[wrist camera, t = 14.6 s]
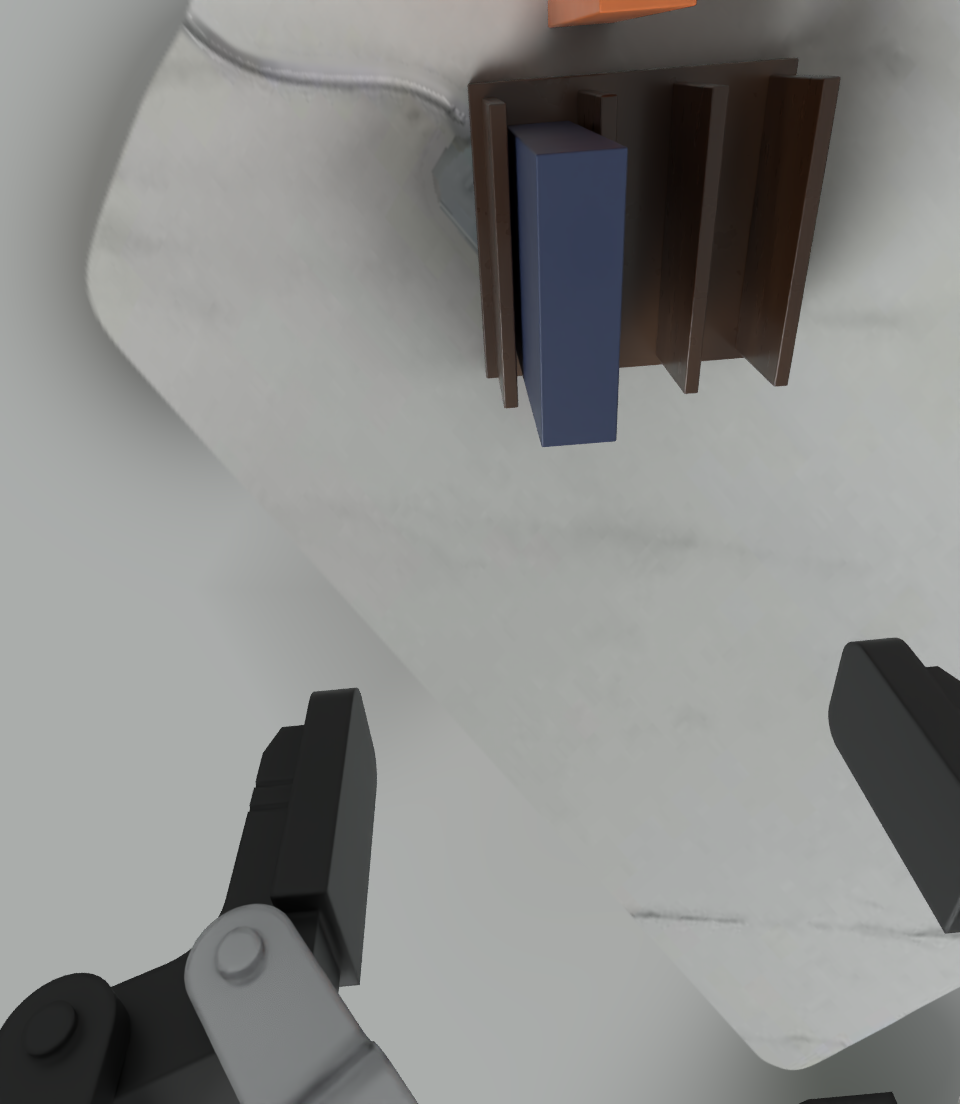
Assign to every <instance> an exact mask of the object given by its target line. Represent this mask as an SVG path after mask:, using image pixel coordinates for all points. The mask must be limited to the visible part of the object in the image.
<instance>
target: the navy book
mask: <svg viewBox="0 0 960 1104" xmlns="http://www.w3.org/2000/svg"><path fill="white" fill-rule="evenodd" d="M507 132H508V157H509V183H510V208H511V234H512V259H513V285H514V310H515V336H516V352H517V356H518V360H519V364H520V367H521V371H522V375H523V378H524V382H525V386H526V390H527V393H528V397H529V401H530V404H531V408H532V412H533V416H534V419H535V423H536V427H537V431H538V434H539V438H540V442H541V445H542V447H550V446H562V445H575V444H587V443H599V442H612V441H616V434H617V409H618V385H619V360H620V335H621V310H622V285H623V261H624V236H625V211H626V186H627V162H628V148H627V147H625V146H623V145H621V144H618V143H616V142H614V141H612V140H610V139H608V138H605V137H603V136H601V135H599V134H597V133H595V132H592V131H590V130H588V129H586V128H584V127H582V126H579V125H577V124H575V123H573V122H571V121H558V122H545V123H532V124H520V125H507Z"/></svg>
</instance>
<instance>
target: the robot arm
mask: <svg viewBox="0 0 960 1104" xmlns="http://www.w3.org/2000/svg"><path fill="white" fill-rule="evenodd" d="M828 719H829V726H830V731H831V734H832V737H833V740H834V742H835V745H836V747H837V748H838V750H839V752H840V754H841V755H842V757H843V759H844V760H845V762H846V764H847V766H848V767H849V769H850V771H851V772H852V774H853V776H854V778H855V779H856V781H857V783H858V785H859V786H860V788H861V790H862V791H863V793H864V795H865V797H866V798H867V800H868V802H869V803H870V805H871V807H872V809H873V810H874V812H875V814H876V816H877V817H878V819H879V821H880V822H881V824H882V826H883V828H884V829H885V831H886V833H887V834H888V836H889V838H890V840H891V841H892V843H893V845H894V847H895V848H896V850H897V852H898V853H899V855H900V857H901V859H902V860H903V862H904V864H905V865H906V867H907V869H908V871H909V872H910V874H911V876H912V877H913V879H914V881H915V883H916V884H917V886H918V888H919V890H920V891H921V893H922V895H923V896H924V898H925V900H926V902H927V903H928V905H929V907H930V908H931V910H932V912H933V914H934V915H935V917H936V919H937V921H938V922H939V924H940V926H941V927H942V929H943V931H944V933H956V932H960V681H959V680H958V679H956V678H955V677H953V676H952V675H950V674H949V673H947V672H946V671H944V670H943V669H941V668H940V667H938V666H935V667H925V666H924V665H923V663H922V662H921V661H920V660H919V658H918V657H917V656H916V655H915V653H914V652H913V651H912V650H911V649H910V647H909V646H908V645H907V644H906V643H905V642H904V641H903V640H901V639H899V638H886V639H876V640H865V641H855V642H849V643H847V644H846V646H845V647H844V649H843V652H842V656H841V660H840V664H839V668H838V672H837V676H836V680H835V685H834V689H833V693H832V697H831V701H830V705H829V711H828ZM376 787H377V771H376V758H375V752H374V747H373V742H372V739H371V735H370V730H369V726H368V722H367V718H366V714H365V709H364V706H363V701H362V697H361V693H360V691H359V689H358V688H349V689H338V690H328V691H317V692H313V693H312V694H311V696H310V700H309V705H308V709H307V714H306V720H305V724H304V725H299V726H289V727H282V728H281V729H280V730H279V732H278V733H277V735H276V736H275V737H274V739H273V740H272V741H271V743H270V744H269V746H268V747H267V748H266V750H265V751H264V752H263V755H262V759H261V763H260V767H259V770H258V774H257V779H256V788H254V791H253V794H252V798H251V802H250V812H248V814H247V818H246V822H245V826H244V829H243V834H242V838H241V841H240V845H239V849H238V853H237V857H236V861H235V865H234V869H233V873H232V877H231V881H230V885H229V889H228V892H227V896H226V900H225V903H224V906H223V909H222V911H221V913H220V915H219V917H218V918H217V919H216V920H215V921H213V922H212V923H211V924H210V925H209V926H208V927H207V928H206V929H205V930H204V931H203V932H202V933H201V935H200V936H199V937H198V939H197V940H196V942H195V944H194V945H193V947H192V948H191V949H190V950H189V951H188V952H186V953H185V954H183V955H182V956H180V957H179V958H177V959H175V960H173V961H171V962H169V963H167V964H165V965H163V966H160V967H158V968H155V969H153V970H151V971H148V972H146V973H144V974H141V975H139V976H136V977H134V978H131V979H129V980H127V981H124V982H122V983H120V984H117V985H115V986H112V987H110V986H109V984H108V983H107V982H106V981H105V980H103V979H102V978H101V977H99V976H96V975H94V974H89V973H74V974H70V975H65V976H63V977H60V978H57V979H55V980H53V981H51V982H49V983H47V984H45V985H43V986H42V987H40V988H39V989H37V990H36V991H35V992H33V993H32V994H31V995H30V996H28V997H27V998H26V999H25V1000H24V1001H23V1002H22V1003H21V1004H20V1005H19V1006H18V1007H17V1008H16V1009H15V1010H14V1011H13V1012H12V1014H11V1015H10V1016H9V1017H8V1019H7V1020H6V1022H5V1023H4V1025H3V1026H2V1028H1V1030H0V1104H418V1103H417V1101H416V1099H415V1098H414V1096H413V1095H412V1094H411V1092H410V1090H409V1089H408V1088H407V1086H406V1084H405V1083H404V1081H403V1080H402V1078H401V1077H400V1075H399V1074H398V1072H397V1071H396V1069H395V1068H394V1066H393V1065H392V1063H391V1062H390V1061H389V1059H388V1058H387V1056H386V1055H385V1053H384V1052H383V1051H382V1050H381V1048H380V1047H379V1046H378V1045H377V1044H376V1043H375V1042H374V1041H370V1039H369V1038H368V1037H367V1036H366V1034H365V1033H364V1032H363V1030H362V1029H361V1027H360V1026H359V1024H358V1023H357V1021H356V1020H355V1018H354V1017H353V1015H352V1014H351V1012H350V1011H349V1009H348V1007H347V1006H346V1004H345V1003H344V1001H343V1000H342V998H341V997H340V995H339V994H338V991H339V987H342V986H352V985H360V974H361V963H362V950H363V939H364V928H365V915H366V905H367V893H368V881H369V870H370V858H371V846H372V835H373V822H374V811H375V799H376ZM800 1104H897V1102H896V1100H895V1097H894V1095H893V1093H892V1092H886V1093H875V1094H864V1095H854V1096H842V1097H832V1098H821V1099H809V1100H806V1101H804V1102H802V1103H800ZM957 1104H960V1098H959V1100H958V1103H957Z"/></svg>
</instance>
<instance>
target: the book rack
mask: <svg viewBox="0 0 960 1104" xmlns="http://www.w3.org/2000/svg"><path fill="white" fill-rule="evenodd" d="M797 66H798V58H785V59H773V60H760V61H747V62H735V63H722V64H710V65H697V66H684V67H672V68H659V69H647V70H634V71H621V72H609V73H596V74H584V75H571V76H558V77H546V78H533V79H521V80H508V81H495V82H483V83H470V84H468V101H469V117H470V132H471V148H472V164H473V180H474V195H475V211H476V227H477V242H478V258H479V274H480V290H481V305H482V321H483V337H484V352H485V368H486V377H487V378H499V383H500V388H501V393H502V399H503V404H504V408H515V407H518V386H517V376H523V375H522V371H521V367H520V364H519V360H518V356H517V352H516V336H515V310H514V285H513V259H512V234H511V208H510V183H509V157H508V132H507V125H520V124H532V123H545V122H558V121H571V122H573V123H575V124H577V125H579V126H582V127H584V128H586V129H588V130H590V131H592V132H595V133H597V134H599V135H601V136H603V137H605V138H608V139H610V140H612V141H614V142H616V143H618V144H621V145H623V146H625V147H627V148H628V162H627V186H626V211H625V236H624V261H623V285H622V310H621V335H620V360H619V368H622V367H634V366H647V365H659V364H663V365H664V367H665V368H666V370H667V371H668V372H669V374H670V375H671V376H672V378H673V379H674V380H675V382H676V383H677V384H678V386H679V387H680V388H681V390H682V391H683V393H685V394H688V393H697V392H698V385H699V376H700V366H701V361H709V360H722V359H734V358H745V359H746V360H747V361H748V362H749V363H750V364H752V365H753V366H754V367H755V368H756V369H757V370H758V371H759V372H760V373H761V374H762V375H763V376H764V377H765V378H766V379H767V380H768V381H769V382H770V383H771V384H772V385H773V386H786V385H787V384H788V379H789V373H790V368H791V362H792V356H793V350H794V345H795V339H796V333H797V327H798V322H799V316H800V310H801V304H802V299H803V293H804V287H805V281H806V275H807V270H808V264H809V258H810V252H811V247H812V241H813V235H814V229H815V224H816V218H817V212H818V206H819V201H820V195H821V189H822V183H823V178H824V172H825V166H826V160H827V154H828V149H829V143H830V137H831V131H832V126H833V120H834V114H835V108H836V103H837V97H838V91H839V85H840V80H841V78H840V77H839V76H813V75H796V73H797Z"/></svg>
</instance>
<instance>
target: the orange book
mask: <svg viewBox="0 0 960 1104" xmlns="http://www.w3.org/2000/svg"><path fill="white" fill-rule="evenodd" d="M696 3H697V0H548V27H549V28H557V27H569V26H581V25H593V24H605V23H615V22H620V21H624V20H629V19H634V18H639V17H643V16H648V15H653V14H658V13H662V12H667V11H672V10H677V9H681V8H686V7H691V6H695V5H696Z"/></svg>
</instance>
